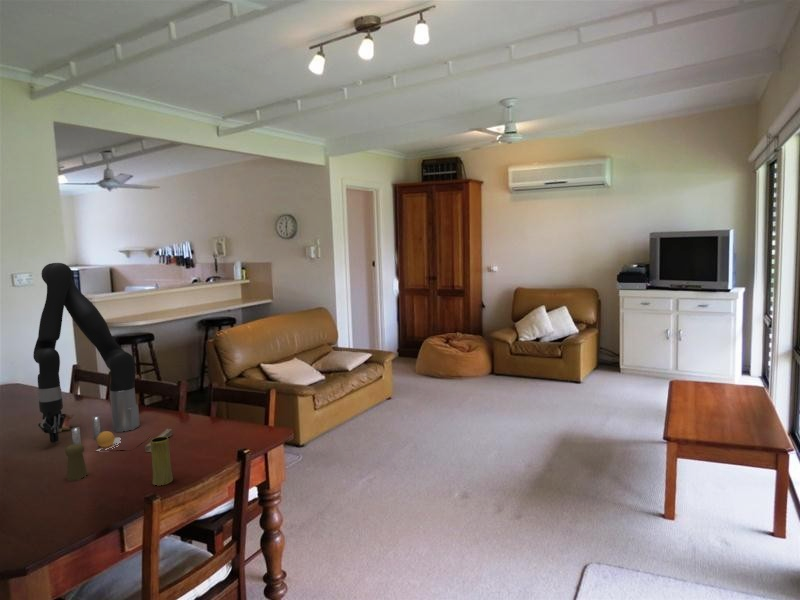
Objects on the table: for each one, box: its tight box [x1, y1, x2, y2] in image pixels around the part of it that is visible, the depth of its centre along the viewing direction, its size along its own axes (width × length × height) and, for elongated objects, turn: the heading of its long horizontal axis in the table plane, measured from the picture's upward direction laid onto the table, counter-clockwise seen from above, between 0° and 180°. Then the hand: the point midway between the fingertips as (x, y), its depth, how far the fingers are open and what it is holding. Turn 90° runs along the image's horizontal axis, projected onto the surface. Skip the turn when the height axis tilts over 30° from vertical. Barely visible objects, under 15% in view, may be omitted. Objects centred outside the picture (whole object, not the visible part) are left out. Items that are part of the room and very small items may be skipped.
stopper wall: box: [144, 428, 173, 453], centre depth 204 cm, size 2×18×2 cm, turn 179°
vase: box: [150, 436, 174, 487], centre depth 169 cm, size 6×6×14 cm
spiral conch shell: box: [58, 413, 75, 433], centre depth 222 cm, size 9×10×10 cm
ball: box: [96, 430, 116, 448], centre depth 201 cm, size 6×6×6 cm
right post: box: [91, 415, 102, 441], centre depth 210 cm, size 3×3×9 cm
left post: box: [70, 426, 82, 445], centre depth 197 cm, size 3×3×9 cm
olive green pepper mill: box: [65, 443, 89, 482], centre depth 175 cm, size 6×6×11 cm
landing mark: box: [95, 436, 121, 452], centre depth 204 cm, size 14×14×1 cm
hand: (54, 441), depth 204 cm, fingers closed
